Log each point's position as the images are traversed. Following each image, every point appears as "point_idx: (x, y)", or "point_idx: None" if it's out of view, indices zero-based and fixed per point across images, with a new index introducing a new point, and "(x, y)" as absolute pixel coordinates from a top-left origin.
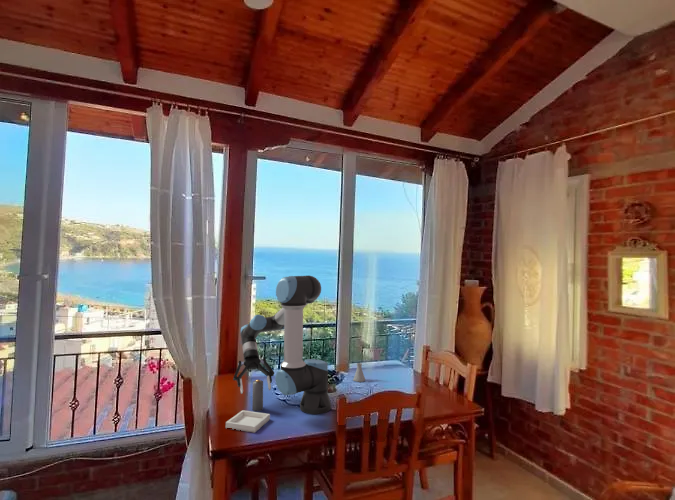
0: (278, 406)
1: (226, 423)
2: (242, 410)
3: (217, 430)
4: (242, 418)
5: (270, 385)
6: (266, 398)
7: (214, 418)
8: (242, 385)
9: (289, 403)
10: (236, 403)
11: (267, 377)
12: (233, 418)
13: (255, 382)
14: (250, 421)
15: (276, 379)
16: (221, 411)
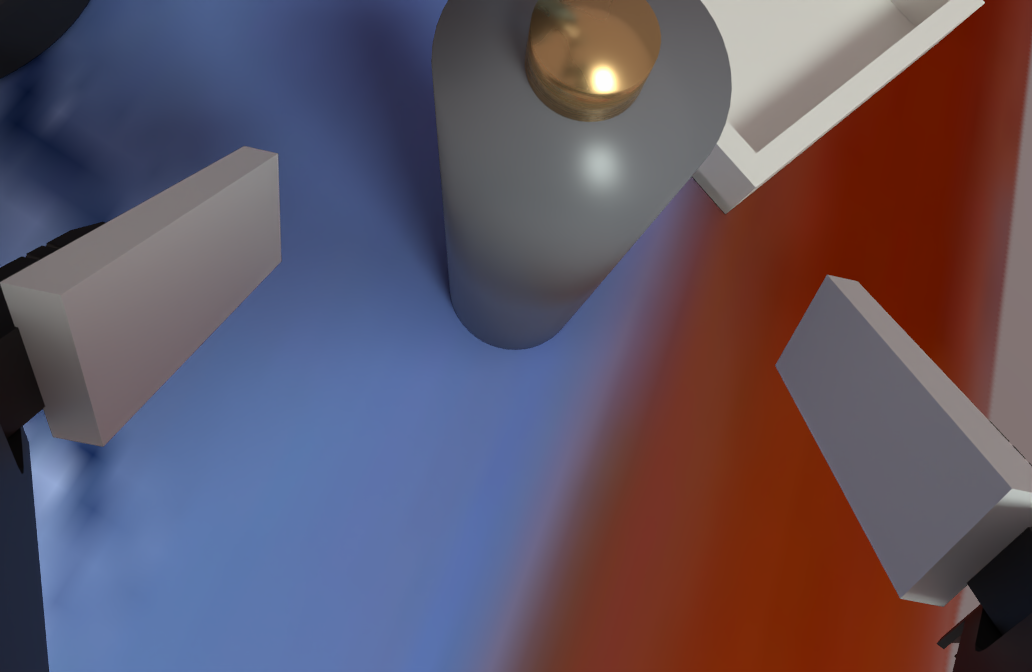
0: None
1: (969, 2)
2: (758, 180)
3: (1004, 46)
4: (761, 111)
5: (228, 162)
6: (238, 589)
7: (998, 310)
8: (886, 340)
9: None
10: (679, 628)
11: (103, 336)
12: (897, 42)
13: (664, 56)
14: (712, 7)
15: None
16: None
